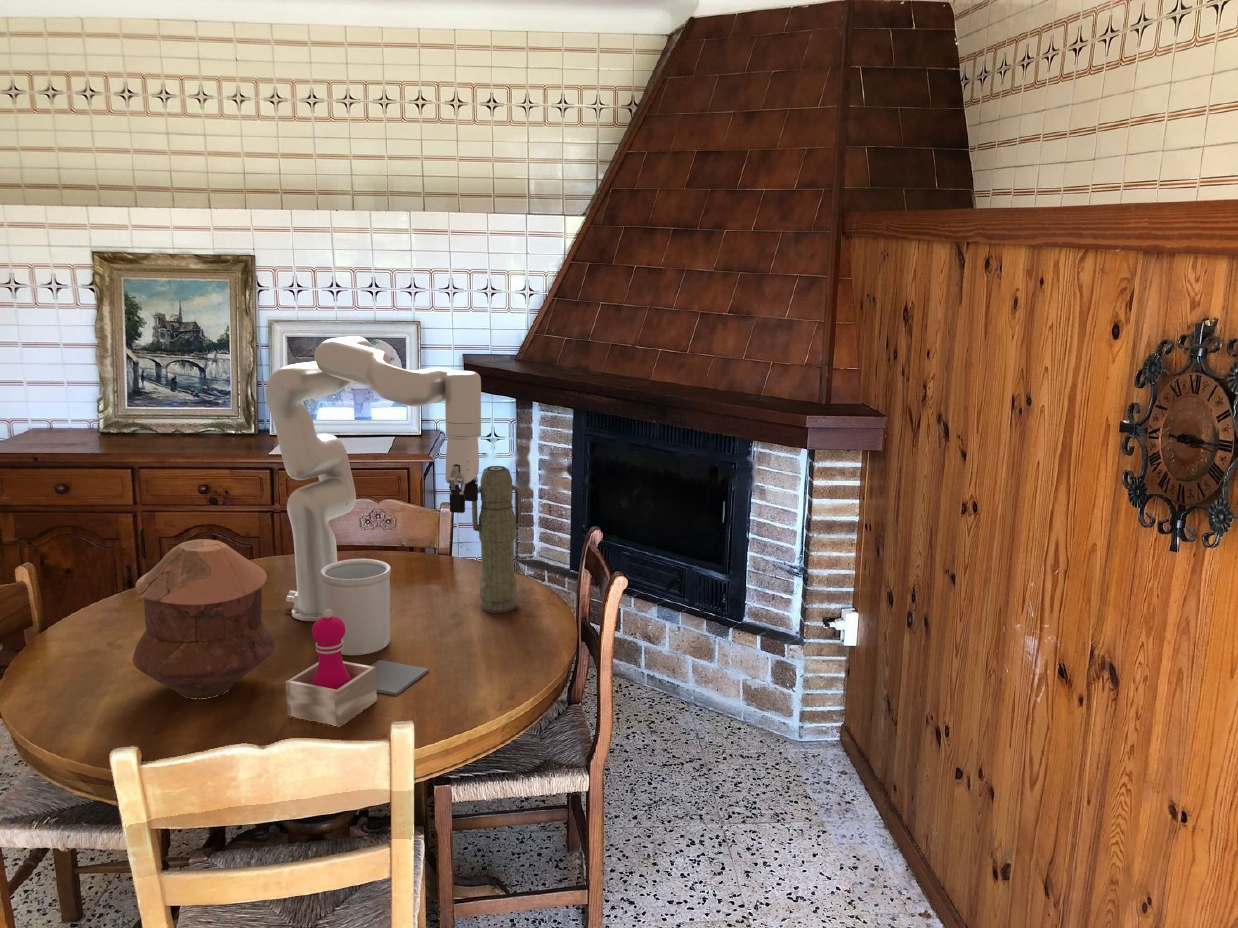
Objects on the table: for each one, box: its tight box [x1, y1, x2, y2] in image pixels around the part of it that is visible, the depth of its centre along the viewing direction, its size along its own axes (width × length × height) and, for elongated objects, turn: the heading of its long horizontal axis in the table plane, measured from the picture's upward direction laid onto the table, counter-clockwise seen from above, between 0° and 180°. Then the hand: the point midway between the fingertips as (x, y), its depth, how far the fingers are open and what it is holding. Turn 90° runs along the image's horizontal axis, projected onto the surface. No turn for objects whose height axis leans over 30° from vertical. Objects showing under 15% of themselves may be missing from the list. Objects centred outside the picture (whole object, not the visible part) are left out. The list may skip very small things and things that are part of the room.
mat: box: [370, 659, 429, 696], centre depth 193 cm, size 12×12×1 cm
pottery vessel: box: [132, 538, 276, 699], centre depth 184 cm, size 26×26×30 cm
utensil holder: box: [321, 558, 392, 656], centre depth 209 cm, size 15×15×18 cm
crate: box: [285, 660, 378, 728], centre depth 179 cm, size 12×12×7 cm
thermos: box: [471, 465, 522, 614], centre depth 230 cm, size 9×12×35 cm
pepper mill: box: [311, 609, 351, 690], centre depth 178 cm, size 7×7×20 cm
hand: (464, 506), depth 206 cm, fingers open, 9 cm apart
